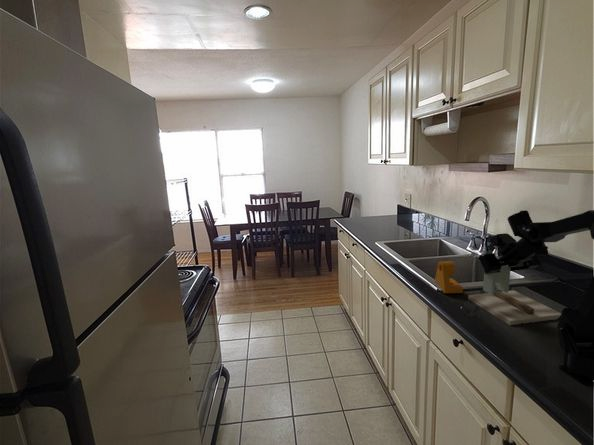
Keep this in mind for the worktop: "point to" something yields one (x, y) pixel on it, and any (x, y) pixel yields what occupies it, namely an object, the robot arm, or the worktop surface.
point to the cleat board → (514, 307)
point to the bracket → (447, 277)
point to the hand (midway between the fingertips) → (494, 271)
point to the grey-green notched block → (497, 280)
